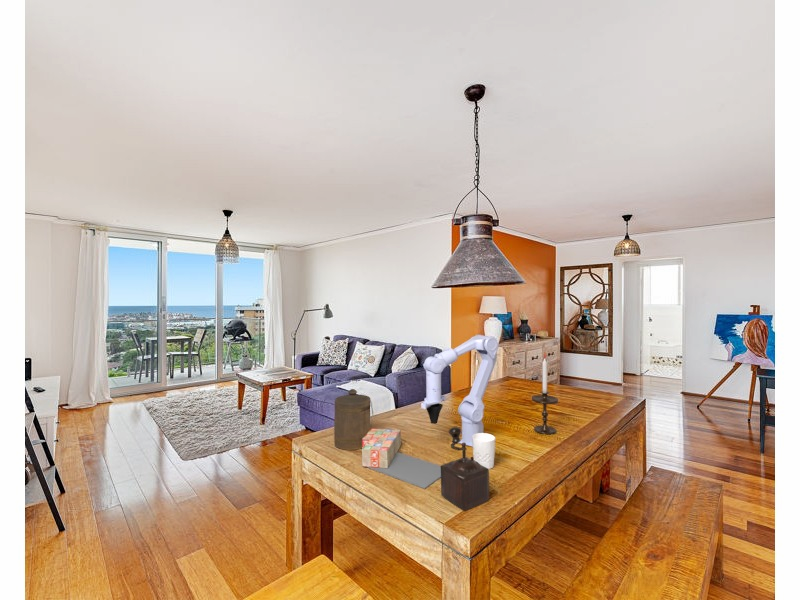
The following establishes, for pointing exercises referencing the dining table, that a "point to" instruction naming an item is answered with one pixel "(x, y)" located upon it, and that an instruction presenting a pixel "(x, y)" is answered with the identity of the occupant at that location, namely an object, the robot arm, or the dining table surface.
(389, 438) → the stack of blocks
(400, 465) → the mat
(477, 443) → the white cup
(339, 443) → the wooden container
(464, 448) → the coffee grinder
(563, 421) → the dining table surface
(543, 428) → the candlestick
